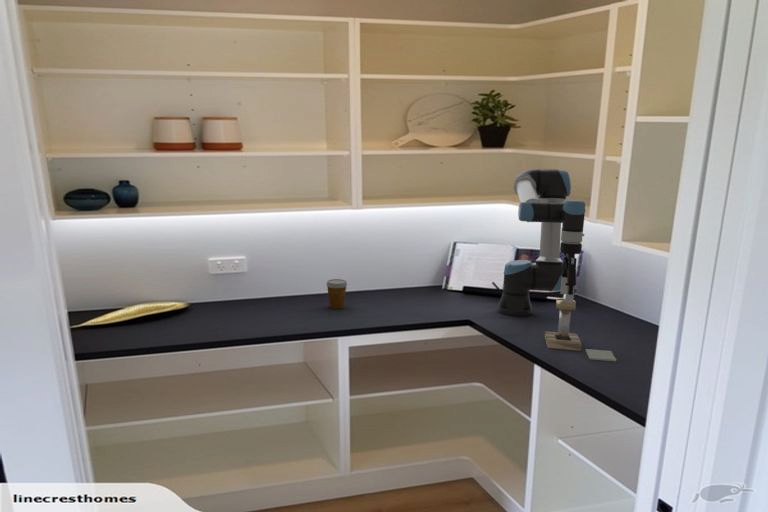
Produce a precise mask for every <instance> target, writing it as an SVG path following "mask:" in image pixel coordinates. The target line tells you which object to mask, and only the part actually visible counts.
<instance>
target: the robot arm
mask: <svg viewBox="0 0 768 512" xmlns="http://www.w3.org/2000/svg"><path fill="white" fill-rule="evenodd" d="M571 187H572V186H571V178H570V175H569V173H568V171H567V170H564V169H555V168H553V169H550V168H549V169H546V168H545V169H542V168H532V169H531V168H530V169H526V170H525V171H523V172H521V173H519V174H518V175H517V177H516V178H515V179H514V182H513V186H512V189H513V191H514V193H515V194H516V196H518V199H519V201H520V203H519V205H518V209H517V210H518V212H517V215H518V220H519V221H520V222H527V223H541V224H540V240H539V241H540V243H539V257H538V258H536V260H535V263H534V264H533V262H532V261H531V260H527V259H526V260H525V259H518V260H517V259H516V260H511V261H508V262H507V263H505V265H504V270H503V285H502V295H501V298H500V300H499V302H498V305H497V311H498V312H499V313H501V314H503V315H506V316H512V317H527V316H529V315H531V314H532V313H533V307H532V302H531V299H530V291H540V292H560V294H561V295H565V298H564V299H565V303H573V300H574V298H575V297H574V296H575V288H576V287H575V286H577V261H578V260H577V258H576V255H580V254H581V253H582V248H583V244H582V242H583V237H585V234H584V233H583V232H584V225H585V216H586V214H585V213H586V202H585V201H584V200H578V199H567V197H570V195H571ZM561 253H563V259H562V258H561V257H560V255H561Z"/></svg>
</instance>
